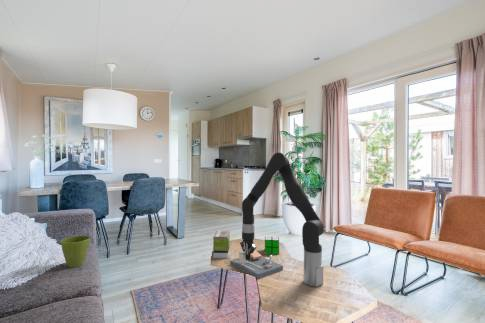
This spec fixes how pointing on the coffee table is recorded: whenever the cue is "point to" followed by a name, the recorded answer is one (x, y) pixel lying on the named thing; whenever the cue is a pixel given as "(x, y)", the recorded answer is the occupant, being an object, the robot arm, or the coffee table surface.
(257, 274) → the control board
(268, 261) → the toggle lever
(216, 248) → the tea box
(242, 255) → the slider knob
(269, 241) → the puzzle cube
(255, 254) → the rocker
